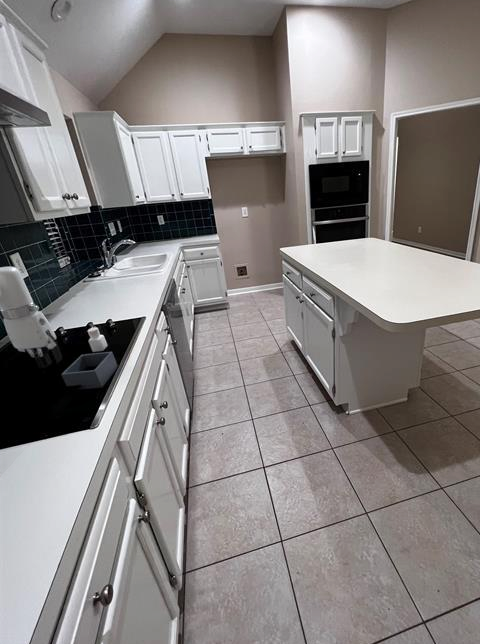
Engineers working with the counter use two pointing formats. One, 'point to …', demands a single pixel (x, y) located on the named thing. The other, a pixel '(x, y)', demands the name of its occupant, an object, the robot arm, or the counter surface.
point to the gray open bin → (93, 377)
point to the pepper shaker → (96, 340)
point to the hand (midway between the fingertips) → (46, 365)
